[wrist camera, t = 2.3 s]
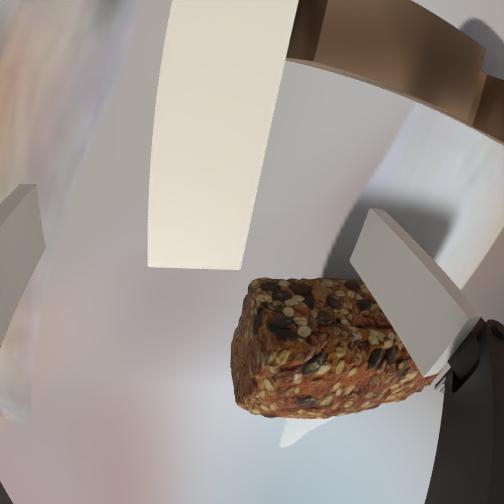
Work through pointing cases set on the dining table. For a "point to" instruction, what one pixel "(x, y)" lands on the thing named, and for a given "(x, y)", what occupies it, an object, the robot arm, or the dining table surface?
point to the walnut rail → (401, 56)
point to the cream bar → (213, 127)
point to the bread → (317, 351)
